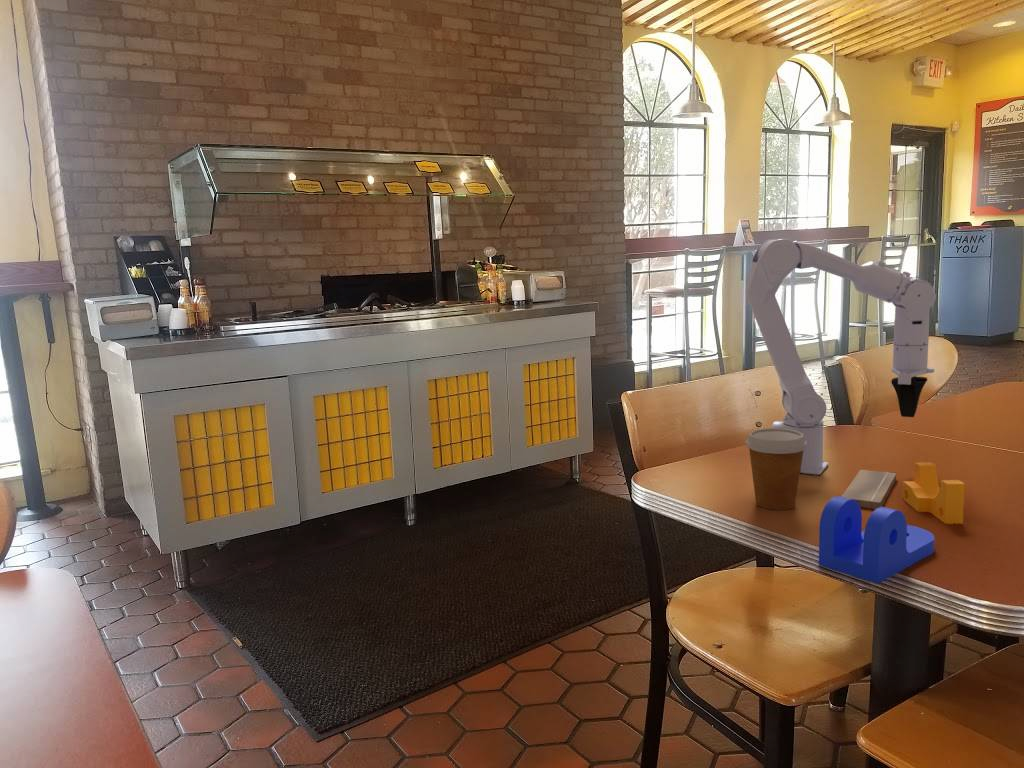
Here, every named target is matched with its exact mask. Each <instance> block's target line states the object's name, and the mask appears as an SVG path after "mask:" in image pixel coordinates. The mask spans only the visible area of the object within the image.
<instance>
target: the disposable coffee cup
mask: <svg viewBox="0 0 1024 768" xmlns="http://www.w3.org/2000/svg"><path fill="white" fill-rule="evenodd" d="M747 437H748V438H747V439H746V440H745V443H746V445H747V448H748V450H749V457H750V458H749V459H750V464H751V465H750V466H751V474H752V482H753V488H754V489H753V491H754V497H755V503H756V505H757V506H758V507H760V508H763V509H767V510H772V511H773V510H774V511H775V510H776V511H781V510H782V511H783V510H789V509H792V508H794V507H796V503H797V494H798V489H799V482H800V476H801V475H800V474H801V473H800V470H801V463H802V457H803V450H804V449H805V446H806V445H807V442H806V441H805V439H804V435H803V434H802V433H800V432H798V431H794V430H788V429H771V428H762V429H761V428H759V429H756V430H752V431H750V432H749V434H748V436H747Z"/></svg>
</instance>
